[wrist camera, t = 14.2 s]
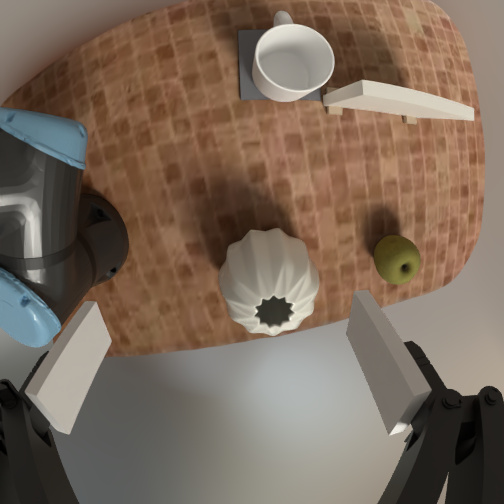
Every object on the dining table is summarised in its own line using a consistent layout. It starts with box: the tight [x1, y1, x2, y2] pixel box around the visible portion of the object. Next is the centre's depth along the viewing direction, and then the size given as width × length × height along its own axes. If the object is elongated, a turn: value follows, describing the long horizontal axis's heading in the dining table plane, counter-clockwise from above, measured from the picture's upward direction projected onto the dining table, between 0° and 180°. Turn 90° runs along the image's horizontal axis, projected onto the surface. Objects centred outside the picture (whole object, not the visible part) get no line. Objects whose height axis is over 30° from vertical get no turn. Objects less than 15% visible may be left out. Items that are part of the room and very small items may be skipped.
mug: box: [252, 11, 334, 102], centre depth 26 cm, size 12×8×10 cm
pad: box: [238, 30, 321, 101], centre depth 31 cm, size 11×11×1 cm
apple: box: [374, 235, 420, 284], centre depth 41 cm, size 8×8×7 cm
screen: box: [323, 80, 474, 125], centre depth 28 cm, size 16×4×14 cm, turn 92°
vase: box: [218, 228, 319, 336], centre depth 38 cm, size 14×14×13 cm
